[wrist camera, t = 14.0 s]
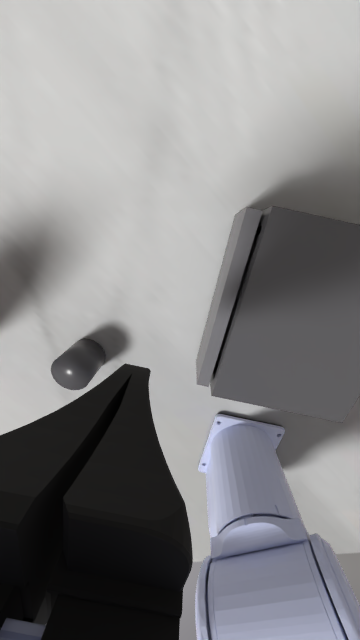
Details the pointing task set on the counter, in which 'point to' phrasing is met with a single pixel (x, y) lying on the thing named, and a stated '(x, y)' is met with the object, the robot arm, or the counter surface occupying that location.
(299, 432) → the counter surface
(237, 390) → the grey drawer box
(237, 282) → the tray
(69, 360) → the grey rounded piece
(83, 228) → the counter surface
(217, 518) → the robot arm
